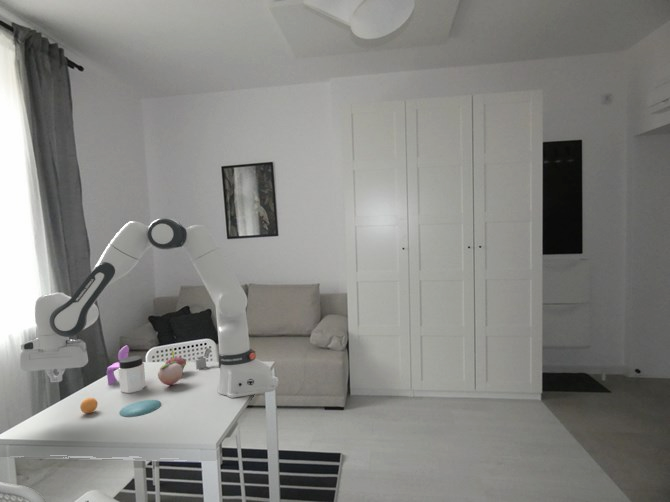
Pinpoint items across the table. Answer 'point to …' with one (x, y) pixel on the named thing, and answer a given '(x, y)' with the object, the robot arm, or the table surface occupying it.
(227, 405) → the table surface
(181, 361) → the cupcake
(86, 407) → the ball
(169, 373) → the decorative fruit
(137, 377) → the jar
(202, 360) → the lighter
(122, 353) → the toy chair
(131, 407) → the disc
